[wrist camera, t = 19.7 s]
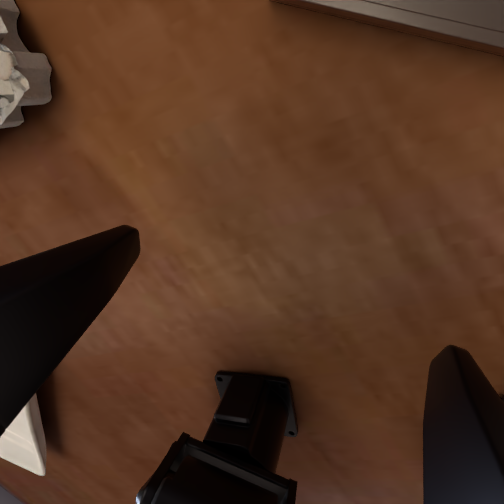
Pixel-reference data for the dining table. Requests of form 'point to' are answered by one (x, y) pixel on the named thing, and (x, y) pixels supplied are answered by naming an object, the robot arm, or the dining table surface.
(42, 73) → the grey castle model
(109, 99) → the dining table surface
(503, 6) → the brown tray with post
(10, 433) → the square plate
